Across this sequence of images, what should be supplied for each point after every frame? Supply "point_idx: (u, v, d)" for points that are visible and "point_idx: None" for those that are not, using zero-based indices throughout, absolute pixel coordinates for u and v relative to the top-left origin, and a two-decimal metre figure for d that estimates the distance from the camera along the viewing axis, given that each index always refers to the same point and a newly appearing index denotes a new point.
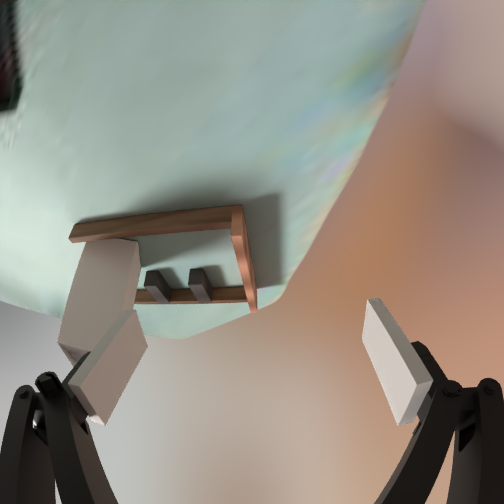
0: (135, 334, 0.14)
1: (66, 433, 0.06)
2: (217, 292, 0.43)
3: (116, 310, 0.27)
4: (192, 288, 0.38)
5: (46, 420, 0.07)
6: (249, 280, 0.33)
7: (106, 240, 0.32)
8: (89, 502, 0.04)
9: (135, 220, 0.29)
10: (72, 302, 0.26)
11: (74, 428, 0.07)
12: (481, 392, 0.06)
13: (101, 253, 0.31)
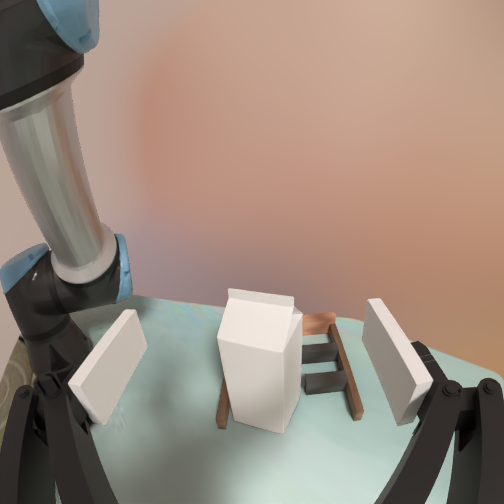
0: (135, 334, 0.14)
1: (66, 432, 0.06)
2: None
3: None
4: (309, 351, 0.42)
5: (45, 420, 0.07)
6: None
7: None
8: (89, 502, 0.04)
9: None
10: None
11: (74, 428, 0.07)
12: (481, 392, 0.06)
13: None
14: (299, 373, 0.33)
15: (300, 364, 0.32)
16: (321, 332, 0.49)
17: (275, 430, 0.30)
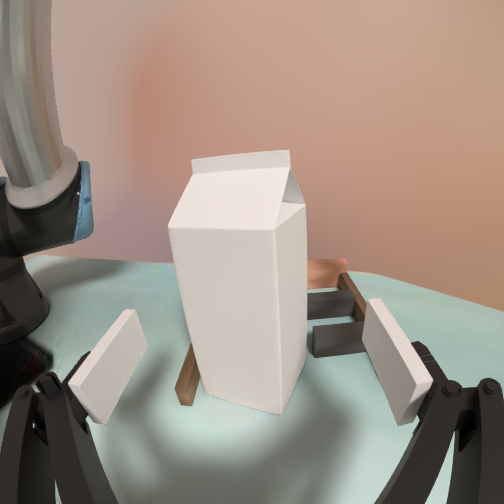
0: (135, 334, 0.14)
1: (66, 433, 0.06)
2: None
3: None
4: (315, 299, 0.31)
5: (46, 420, 0.07)
6: None
7: None
8: (89, 502, 0.04)
9: None
10: None
11: (74, 428, 0.07)
12: (481, 392, 0.06)
13: None
14: (304, 314, 0.22)
15: (305, 297, 0.22)
16: (329, 285, 0.39)
17: (268, 408, 0.19)
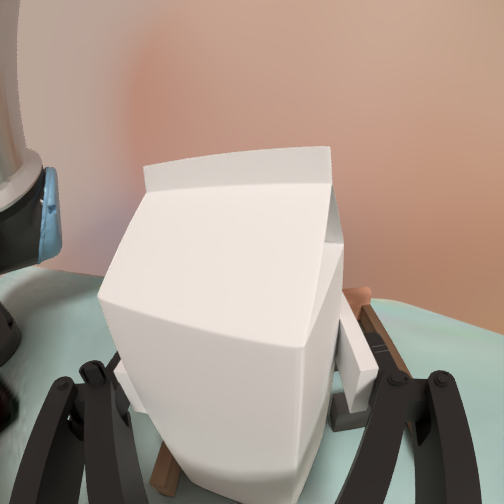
0: None
1: (106, 426, 0.07)
2: None
3: None
4: None
5: (85, 409, 0.08)
6: None
7: None
8: (118, 500, 0.04)
9: None
10: None
11: (115, 421, 0.08)
12: (432, 386, 0.07)
13: None
14: (328, 398, 0.14)
15: (332, 378, 0.13)
16: None
17: None
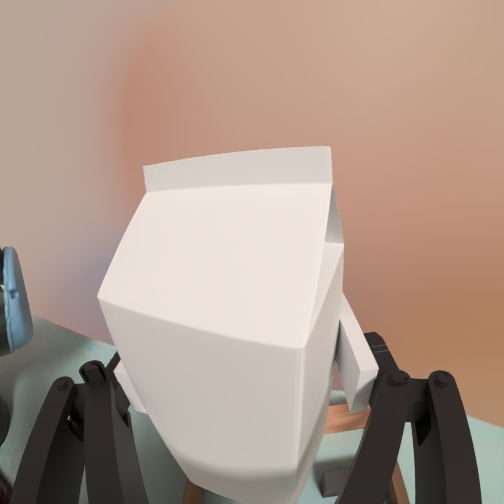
0: None
1: (106, 426, 0.07)
2: None
3: None
4: (338, 485, 0.16)
5: (85, 409, 0.08)
6: None
7: None
8: (118, 500, 0.04)
9: None
10: None
11: (115, 421, 0.08)
12: (432, 386, 0.07)
13: None
14: (328, 398, 0.14)
15: (332, 378, 0.13)
16: (356, 427, 0.23)
17: None
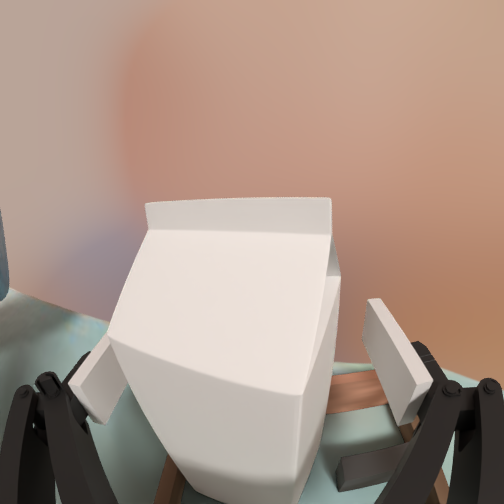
0: None
1: (66, 433, 0.06)
2: (409, 441, 0.15)
3: None
4: (361, 473, 0.12)
5: (46, 419, 0.07)
6: None
7: None
8: (89, 502, 0.04)
9: None
10: None
11: (74, 428, 0.07)
12: (481, 392, 0.06)
13: None
14: (324, 413, 0.14)
15: (327, 396, 0.14)
16: (375, 404, 0.20)
17: None
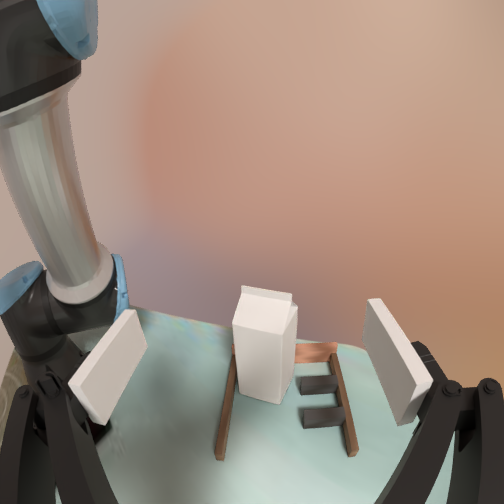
0: (135, 334, 0.14)
1: (66, 433, 0.06)
2: None
3: None
4: (308, 384, 0.40)
5: (46, 420, 0.07)
6: None
7: None
8: (89, 502, 0.04)
9: None
10: None
11: (74, 428, 0.07)
12: (481, 392, 0.06)
13: None
14: (293, 355, 0.42)
15: (294, 347, 0.41)
16: (321, 360, 0.47)
17: (273, 401, 0.39)
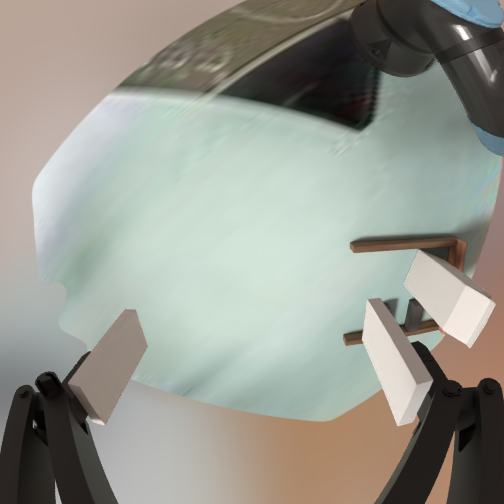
0: (135, 334, 0.14)
1: (66, 433, 0.06)
2: None
3: (471, 279, 0.33)
4: (415, 311, 0.43)
5: (46, 419, 0.07)
6: None
7: (431, 254, 0.41)
8: (89, 502, 0.04)
9: (405, 240, 0.41)
10: (451, 271, 0.33)
11: (74, 428, 0.07)
12: (481, 392, 0.06)
13: (436, 258, 0.39)
14: None
15: None
16: None
17: (406, 280, 0.43)
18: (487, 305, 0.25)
